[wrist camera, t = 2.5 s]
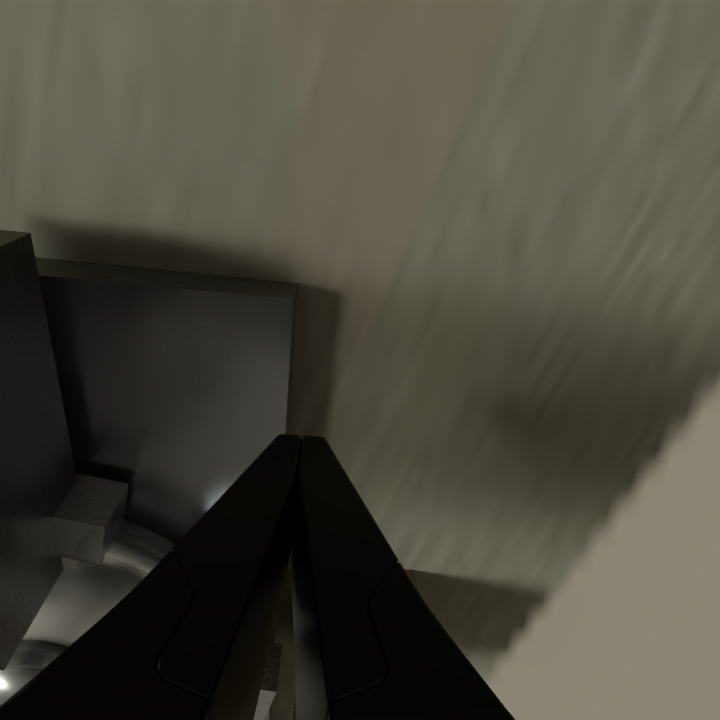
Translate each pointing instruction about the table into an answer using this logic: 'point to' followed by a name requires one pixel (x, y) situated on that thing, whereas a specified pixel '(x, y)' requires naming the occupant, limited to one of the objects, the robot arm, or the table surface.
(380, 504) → the table surface
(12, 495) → the sprocket
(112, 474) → the base plate
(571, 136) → the table surface
